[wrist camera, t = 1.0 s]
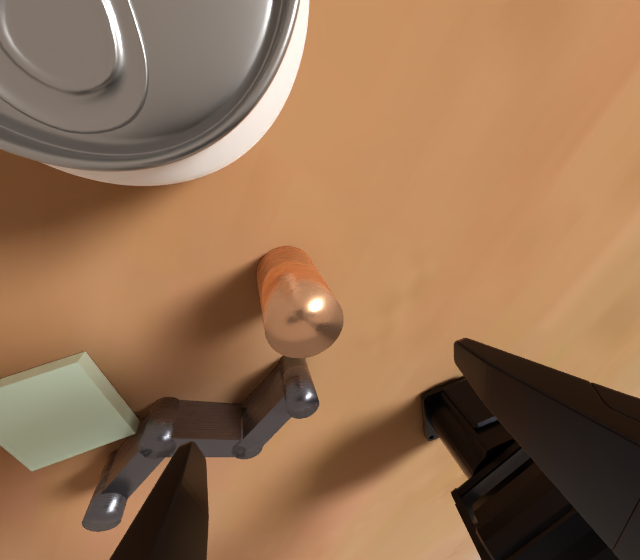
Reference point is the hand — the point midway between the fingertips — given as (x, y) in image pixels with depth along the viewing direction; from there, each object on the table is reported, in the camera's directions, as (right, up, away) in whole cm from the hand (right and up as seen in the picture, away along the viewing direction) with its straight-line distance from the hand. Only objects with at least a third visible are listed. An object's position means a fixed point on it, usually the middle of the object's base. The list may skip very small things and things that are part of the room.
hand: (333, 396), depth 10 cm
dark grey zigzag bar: (-9, -6, +12) cm, 16 cm away
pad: (-17, -4, +9) cm, 19 cm away
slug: (-3, +4, +9) cm, 10 cm away
